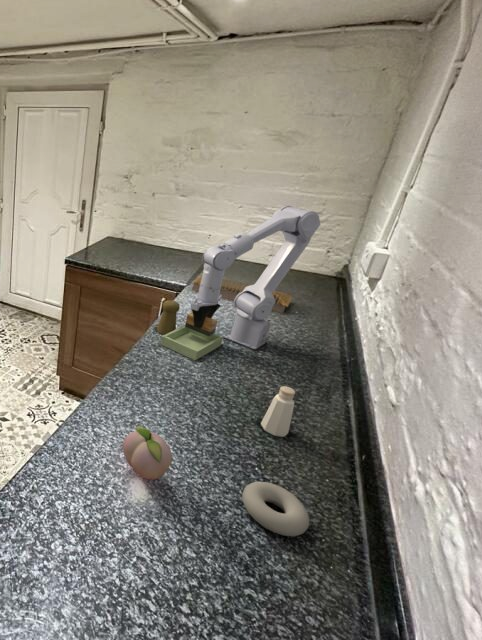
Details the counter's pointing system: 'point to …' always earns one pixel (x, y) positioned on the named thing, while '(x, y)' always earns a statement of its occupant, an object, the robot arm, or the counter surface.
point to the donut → (276, 522)
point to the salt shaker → (279, 413)
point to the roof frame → (240, 287)
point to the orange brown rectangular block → (206, 328)
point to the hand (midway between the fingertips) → (200, 325)
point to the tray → (190, 342)
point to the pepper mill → (168, 317)
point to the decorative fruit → (147, 453)
